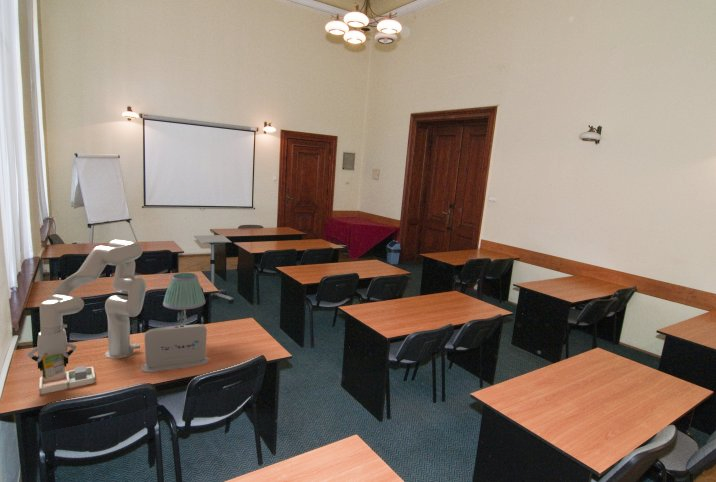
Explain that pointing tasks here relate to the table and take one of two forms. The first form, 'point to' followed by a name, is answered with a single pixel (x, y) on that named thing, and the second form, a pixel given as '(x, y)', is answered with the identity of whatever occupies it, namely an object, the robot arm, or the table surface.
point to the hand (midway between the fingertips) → (53, 367)
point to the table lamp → (184, 294)
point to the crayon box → (52, 365)
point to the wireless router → (175, 347)
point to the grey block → (80, 373)
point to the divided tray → (65, 381)
